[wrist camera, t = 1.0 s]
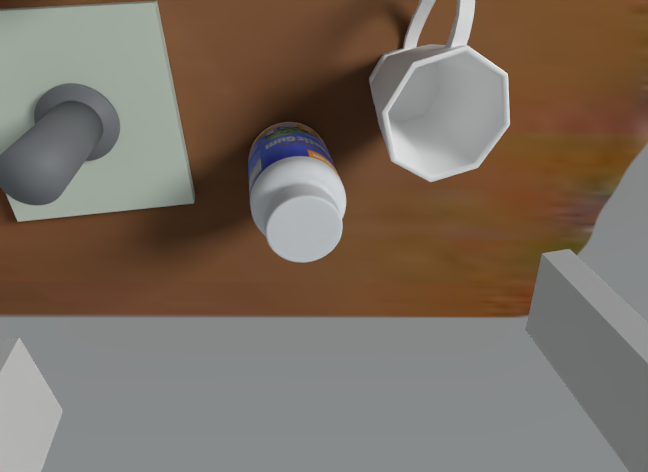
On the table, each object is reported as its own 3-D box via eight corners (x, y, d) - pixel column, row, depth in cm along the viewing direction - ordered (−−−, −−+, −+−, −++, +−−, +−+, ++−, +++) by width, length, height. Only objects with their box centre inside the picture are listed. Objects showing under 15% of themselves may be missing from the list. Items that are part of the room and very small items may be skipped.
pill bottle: (334, 126, 32) (370, 188, 23) (318, 199, 34) (345, 277, 26) (253, 113, 30) (260, 174, 22) (242, 189, 33) (245, 269, 25)
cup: (340, 130, 32) (369, 178, 25) (367, -42, 27) (412, -39, 20) (437, 138, 33) (489, 186, 26) (479, -23, 28) (557, -15, 22)
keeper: (-59, 12, 25) (-191, 40, 17) (157, 0, 26) (125, 21, 18) (24, 212, 31) (-45, 300, 23) (195, 195, 32) (183, 272, 25)
